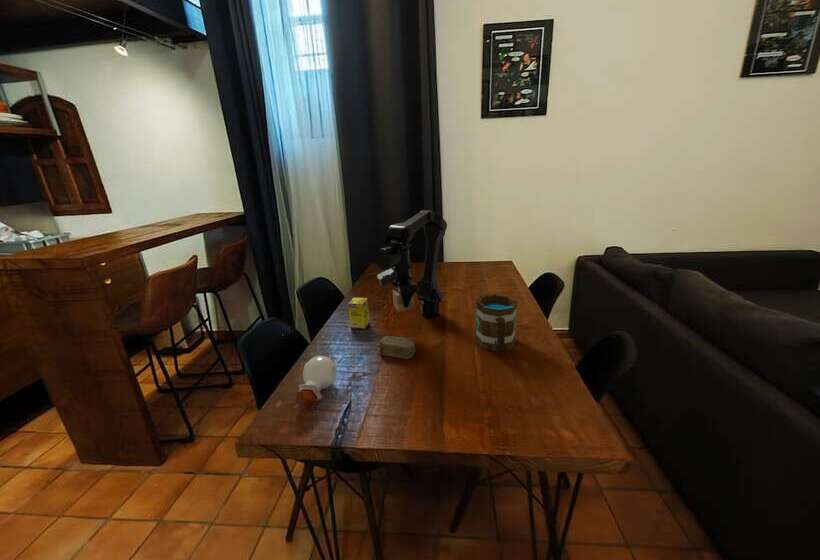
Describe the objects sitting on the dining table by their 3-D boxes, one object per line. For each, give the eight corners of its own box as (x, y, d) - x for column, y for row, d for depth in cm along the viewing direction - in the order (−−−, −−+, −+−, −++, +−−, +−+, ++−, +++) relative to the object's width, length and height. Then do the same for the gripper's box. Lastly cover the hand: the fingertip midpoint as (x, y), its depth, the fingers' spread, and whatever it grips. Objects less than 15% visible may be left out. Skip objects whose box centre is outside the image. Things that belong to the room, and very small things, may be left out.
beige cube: (409, 302, 127) (408, 287, 125) (414, 308, 121) (413, 293, 119) (393, 305, 125) (392, 289, 123) (397, 311, 120) (396, 295, 118)
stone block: (385, 347, 119) (384, 334, 117) (417, 351, 115) (416, 338, 114) (378, 355, 114) (377, 342, 112) (411, 361, 110) (411, 347, 109)
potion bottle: (333, 378, 105) (315, 417, 92) (305, 363, 104) (283, 400, 90) (346, 359, 101) (330, 397, 88) (317, 343, 100) (296, 379, 86)
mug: (473, 331, 126) (474, 293, 121) (511, 332, 124) (513, 293, 119) (478, 362, 107) (479, 318, 102) (522, 362, 106) (526, 318, 101)
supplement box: (365, 330, 131) (362, 303, 128) (350, 329, 132) (347, 303, 129) (370, 323, 137) (367, 297, 133) (356, 322, 138) (353, 297, 134)
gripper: (372, 257, 124) (376, 298, 129) (383, 272, 107) (387, 318, 112) (402, 254, 127) (404, 293, 132) (418, 268, 110) (419, 312, 115)
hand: (403, 303), depth 123 cm, fingers closed on beige cube, 6 cm apart
